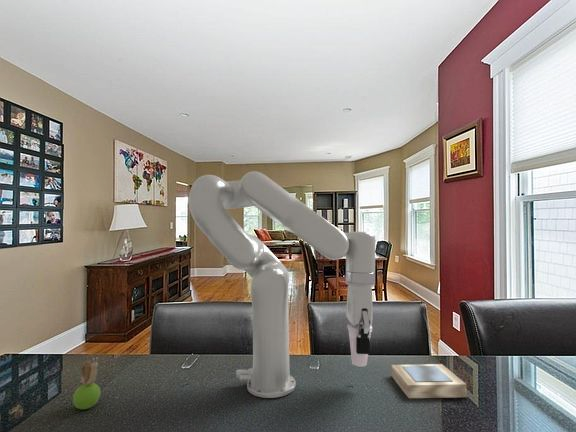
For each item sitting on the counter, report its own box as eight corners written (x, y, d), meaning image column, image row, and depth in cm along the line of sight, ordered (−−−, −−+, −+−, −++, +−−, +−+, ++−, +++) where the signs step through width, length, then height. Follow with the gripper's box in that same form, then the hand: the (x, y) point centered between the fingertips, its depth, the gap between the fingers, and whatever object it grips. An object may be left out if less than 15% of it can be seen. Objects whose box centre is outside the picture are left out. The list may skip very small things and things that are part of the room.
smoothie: (372, 370, 77) (373, 312, 78) (346, 367, 79) (347, 310, 80) (371, 360, 84) (371, 306, 85) (346, 357, 85) (347, 305, 86)
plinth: (408, 398, 75) (408, 384, 75) (391, 376, 87) (391, 364, 87) (467, 397, 75) (466, 383, 75) (442, 375, 87) (441, 363, 87)
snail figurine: (81, 418, 68) (83, 361, 69) (67, 410, 72) (69, 356, 73) (107, 406, 73) (108, 353, 74) (92, 399, 76) (94, 349, 77)
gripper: (340, 274, 91) (339, 337, 90) (352, 283, 74) (351, 361, 73) (366, 275, 91) (365, 338, 90) (384, 283, 74) (384, 362, 73)
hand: (359, 347), depth 81 cm, fingers closed on smoothie, 6 cm apart
